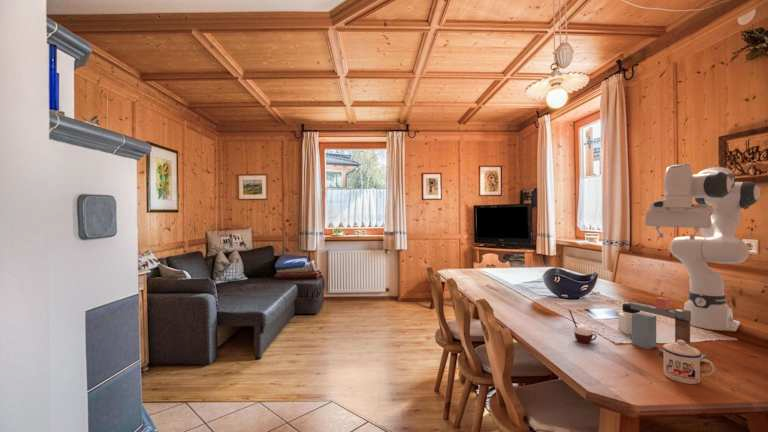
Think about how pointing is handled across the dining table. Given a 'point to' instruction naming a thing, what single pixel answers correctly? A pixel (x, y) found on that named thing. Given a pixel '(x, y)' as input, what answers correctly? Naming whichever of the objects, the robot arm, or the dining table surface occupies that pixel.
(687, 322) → the post
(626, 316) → the medicine bottle
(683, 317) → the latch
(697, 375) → the teacup with lid
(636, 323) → the grey blue rectangular block
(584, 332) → the brown and white cup
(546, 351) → the dining table surface
